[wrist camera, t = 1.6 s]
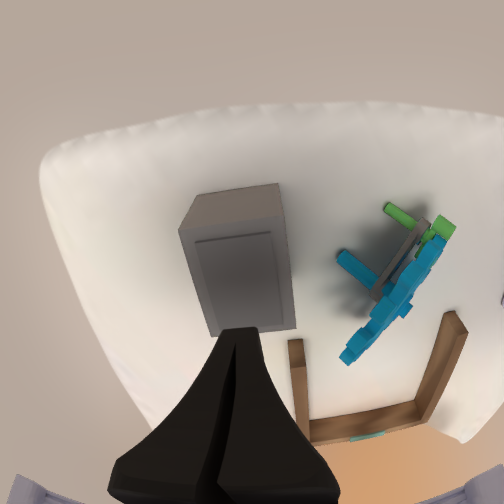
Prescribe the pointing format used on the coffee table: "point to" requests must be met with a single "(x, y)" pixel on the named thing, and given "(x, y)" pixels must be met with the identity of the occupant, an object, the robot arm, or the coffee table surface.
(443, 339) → the frame
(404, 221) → the blue green toy construction
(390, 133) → the coffee table surface
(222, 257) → the block
